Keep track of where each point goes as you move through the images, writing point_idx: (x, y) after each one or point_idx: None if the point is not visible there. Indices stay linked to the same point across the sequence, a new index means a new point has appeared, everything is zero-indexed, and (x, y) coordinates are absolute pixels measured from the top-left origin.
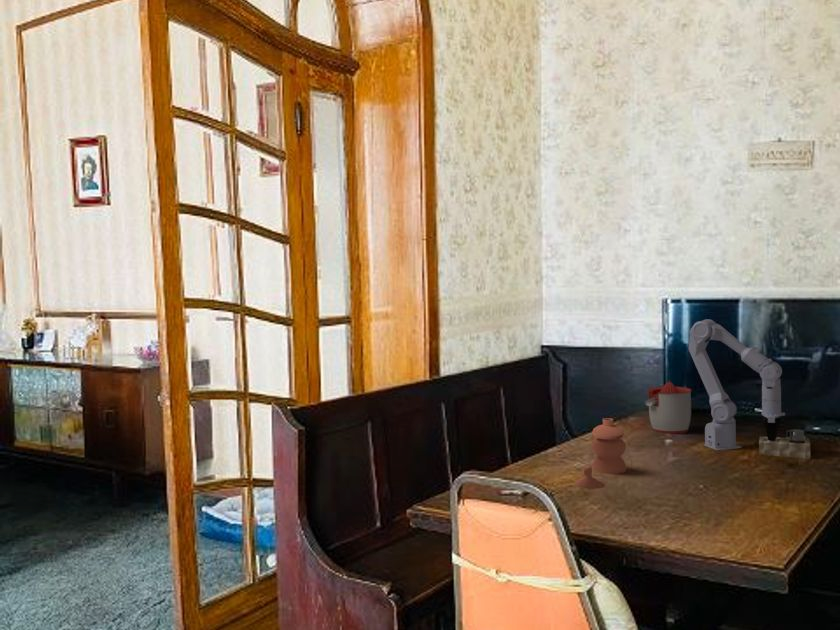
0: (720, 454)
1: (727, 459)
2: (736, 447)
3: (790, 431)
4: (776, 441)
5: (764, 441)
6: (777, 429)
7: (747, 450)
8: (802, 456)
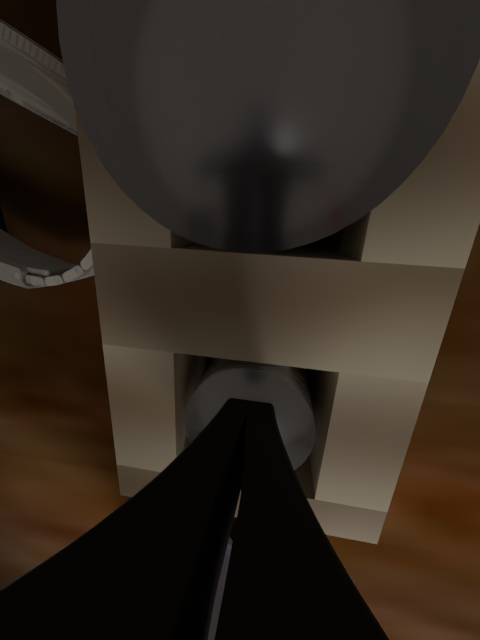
0: None
1: (412, 578)
2: (230, 546)
3: (292, 245)
4: (301, 394)
5: (333, 499)
6: (324, 536)
7: None
8: None
